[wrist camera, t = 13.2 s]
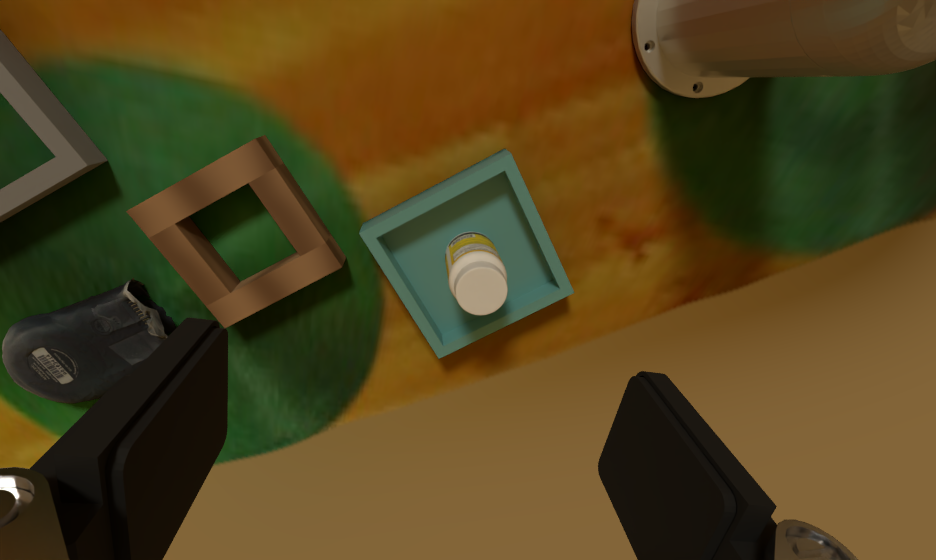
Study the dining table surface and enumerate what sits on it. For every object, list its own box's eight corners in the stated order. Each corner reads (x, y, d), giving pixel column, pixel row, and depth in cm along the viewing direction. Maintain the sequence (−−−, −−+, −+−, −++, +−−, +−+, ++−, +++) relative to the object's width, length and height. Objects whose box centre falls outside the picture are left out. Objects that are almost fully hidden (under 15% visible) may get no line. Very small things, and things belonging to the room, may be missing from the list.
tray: (504, 148, 41) (510, 153, 38) (564, 280, 46) (574, 292, 43) (363, 223, 42) (359, 233, 39) (437, 342, 47) (438, 358, 45)
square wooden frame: (265, 135, 38) (255, 138, 36) (346, 257, 43) (342, 267, 41) (143, 203, 40) (126, 211, 37) (234, 315, 44) (224, 328, 42)
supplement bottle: (482, 286, 45) (495, 329, 37) (436, 268, 43) (439, 308, 36) (505, 241, 43) (523, 276, 35) (457, 221, 42) (466, 253, 34)
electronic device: (141, 257, 43) (-15, 333, 42) (120, 285, 38) (-57, 371, 37) (207, 331, 48) (68, 401, 47) (195, 364, 43) (40, 441, 42)
